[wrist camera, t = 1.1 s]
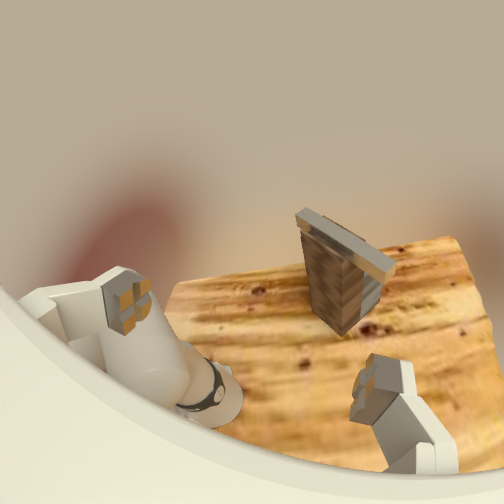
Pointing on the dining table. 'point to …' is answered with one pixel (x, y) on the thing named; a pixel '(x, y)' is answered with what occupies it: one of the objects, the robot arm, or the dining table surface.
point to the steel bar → (347, 245)
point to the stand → (337, 285)
